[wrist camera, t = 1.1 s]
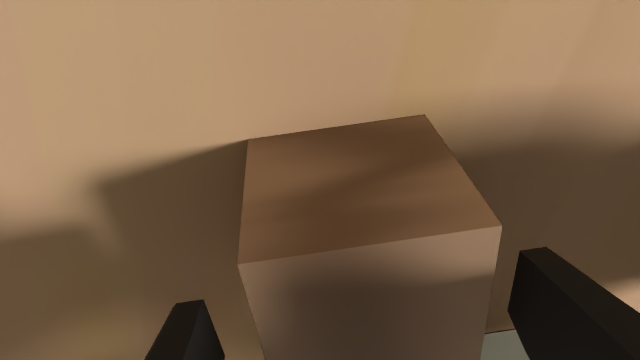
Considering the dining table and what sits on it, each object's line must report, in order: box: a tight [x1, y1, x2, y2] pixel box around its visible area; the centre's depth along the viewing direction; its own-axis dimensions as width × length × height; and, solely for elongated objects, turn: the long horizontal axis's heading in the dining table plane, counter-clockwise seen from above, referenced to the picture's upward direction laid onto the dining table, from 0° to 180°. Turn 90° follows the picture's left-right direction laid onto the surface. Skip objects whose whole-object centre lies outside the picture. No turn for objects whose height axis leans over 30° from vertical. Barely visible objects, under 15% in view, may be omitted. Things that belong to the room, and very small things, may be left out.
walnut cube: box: [237, 114, 502, 360], centre depth 12 cm, size 5×5×5 cm
